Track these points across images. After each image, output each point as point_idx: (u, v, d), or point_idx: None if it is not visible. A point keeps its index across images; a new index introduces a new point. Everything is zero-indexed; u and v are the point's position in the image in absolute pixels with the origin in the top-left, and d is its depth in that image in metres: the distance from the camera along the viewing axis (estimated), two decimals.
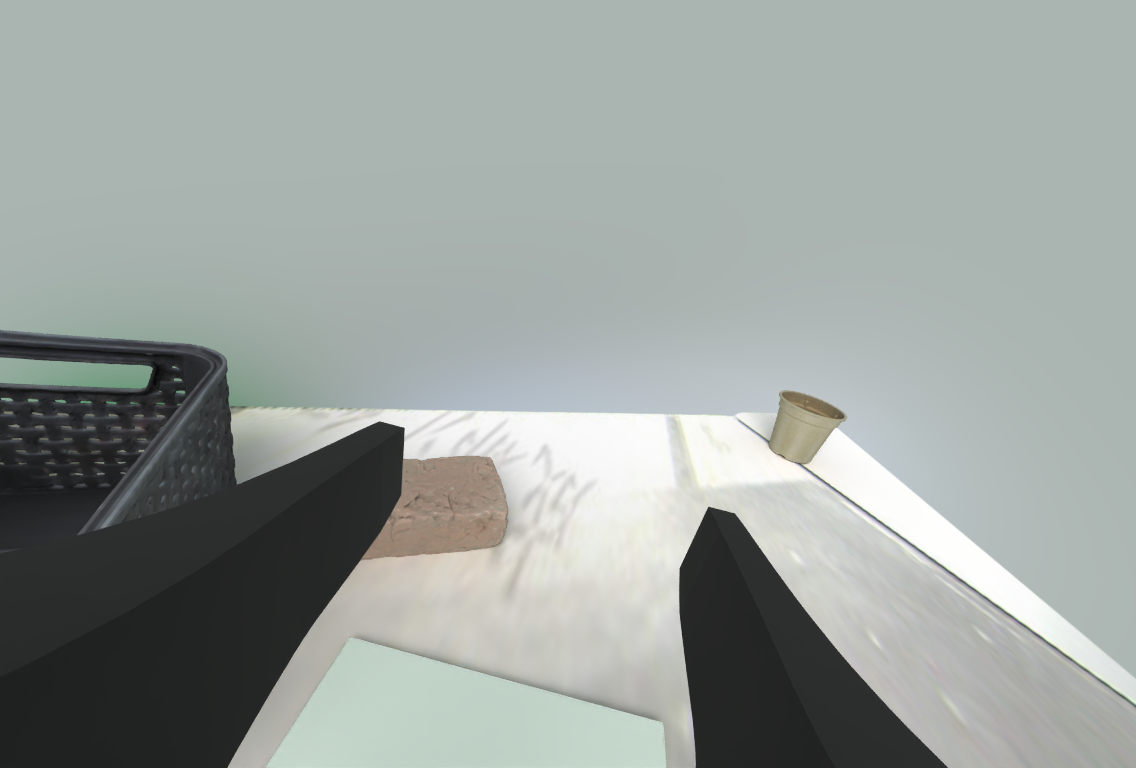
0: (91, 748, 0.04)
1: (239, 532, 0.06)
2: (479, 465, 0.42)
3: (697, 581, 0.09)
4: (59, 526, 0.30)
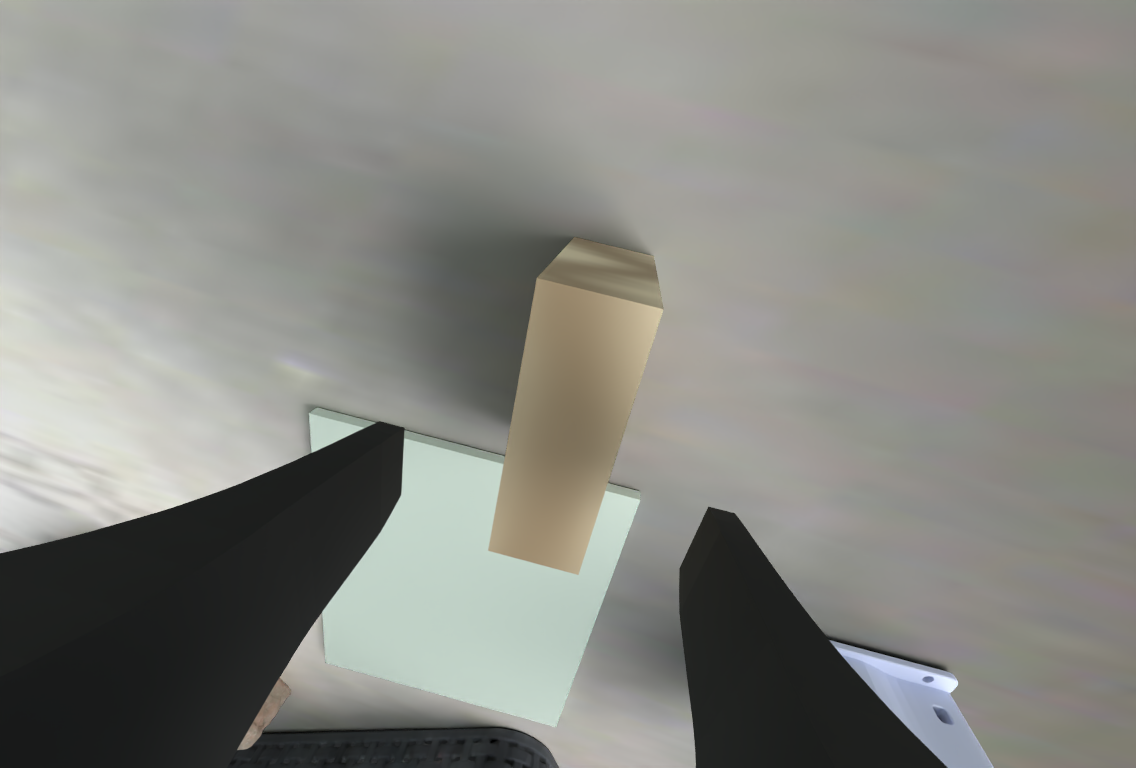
0: (91, 748, 0.04)
1: (238, 533, 0.06)
2: None
3: (697, 581, 0.09)
4: None
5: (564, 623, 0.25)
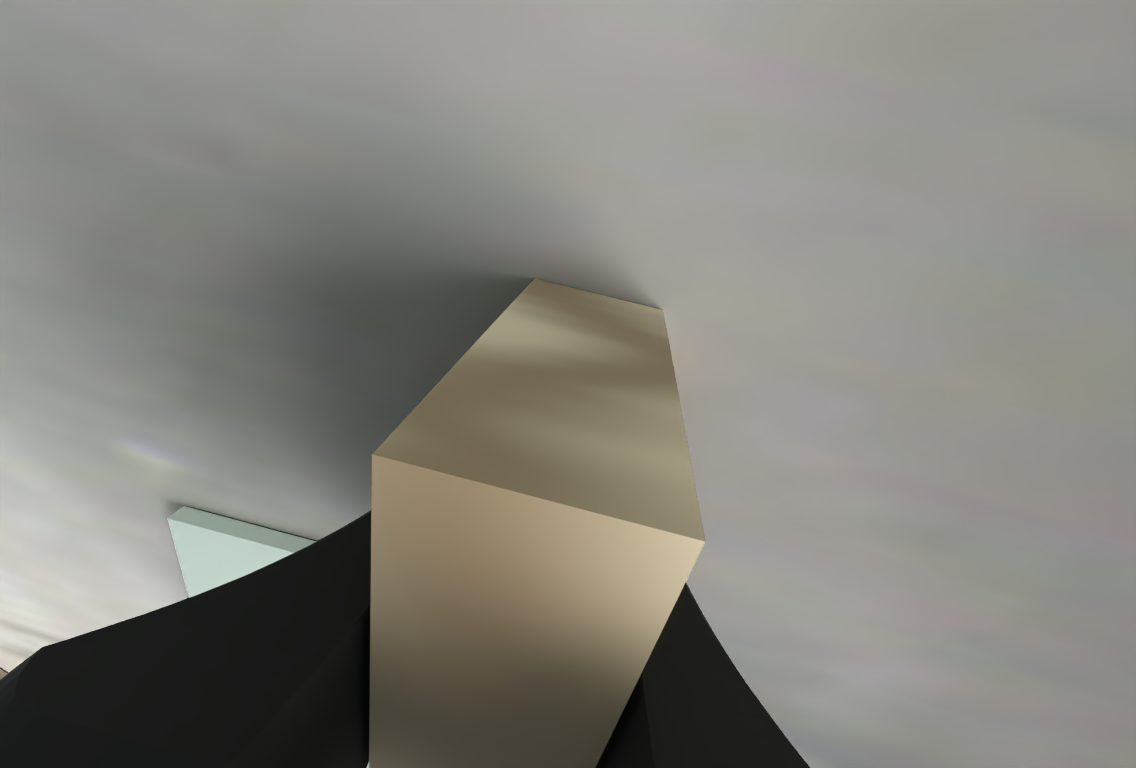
0: None
1: None
2: None
3: None
4: None
5: None
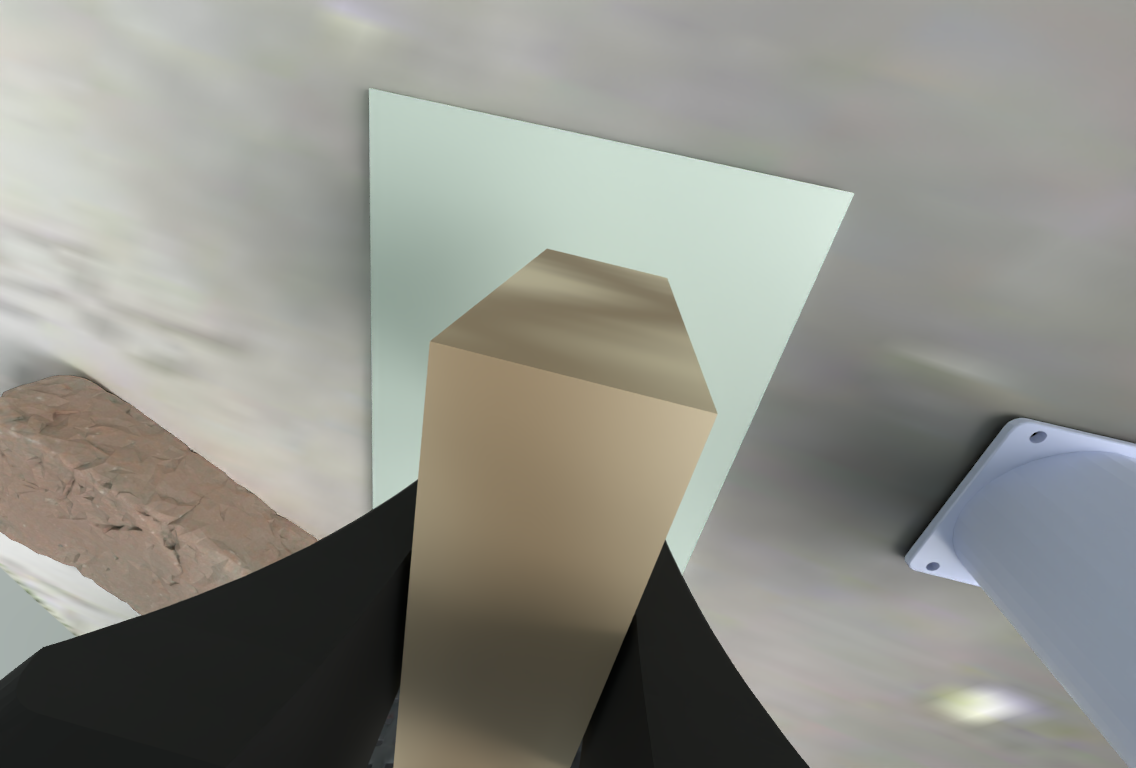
0: None
1: (379, 572, 0.06)
2: None
3: None
4: None
5: None
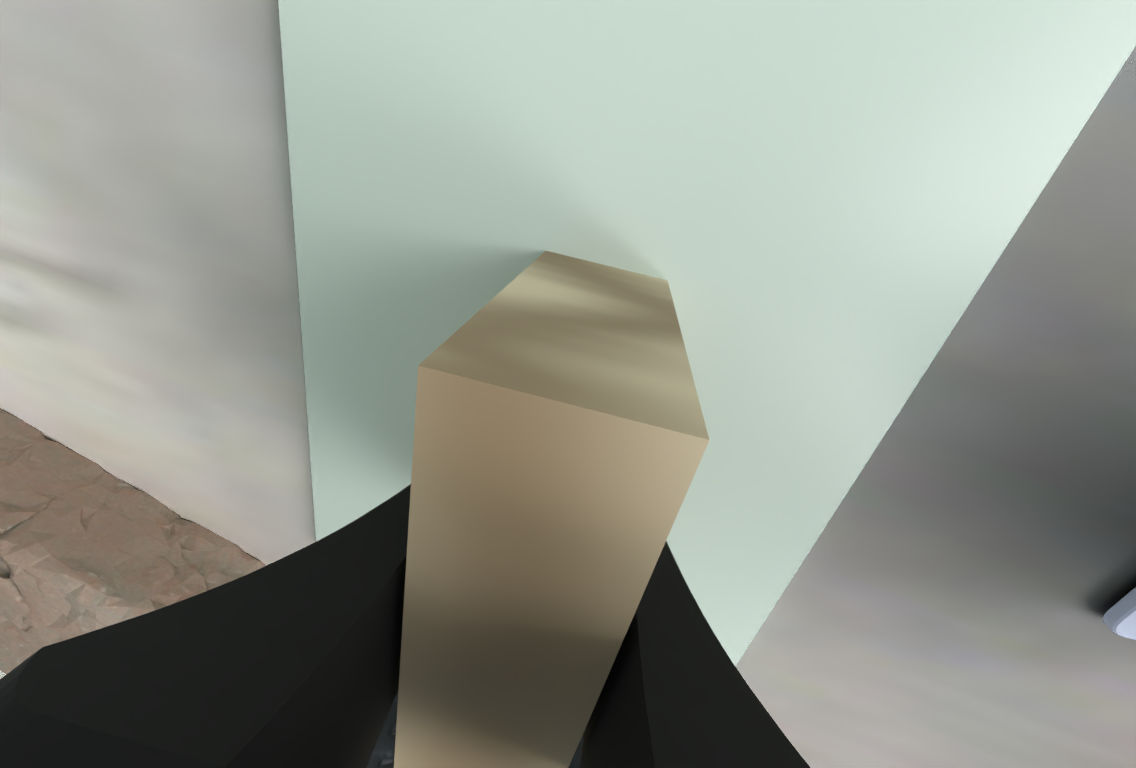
0: None
1: (379, 570, 0.06)
2: None
3: None
4: None
5: (821, 425, 0.12)
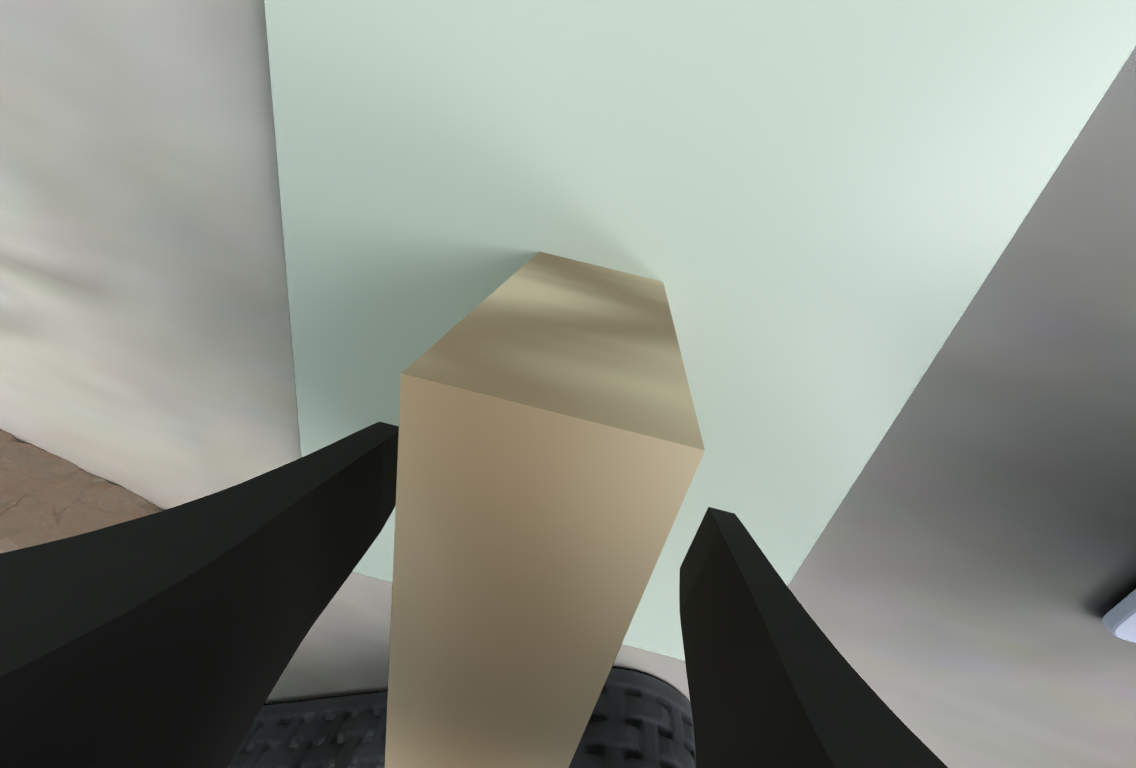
0: (91, 748, 0.04)
1: (239, 533, 0.06)
2: None
3: (697, 581, 0.09)
4: None
5: (819, 428, 0.12)
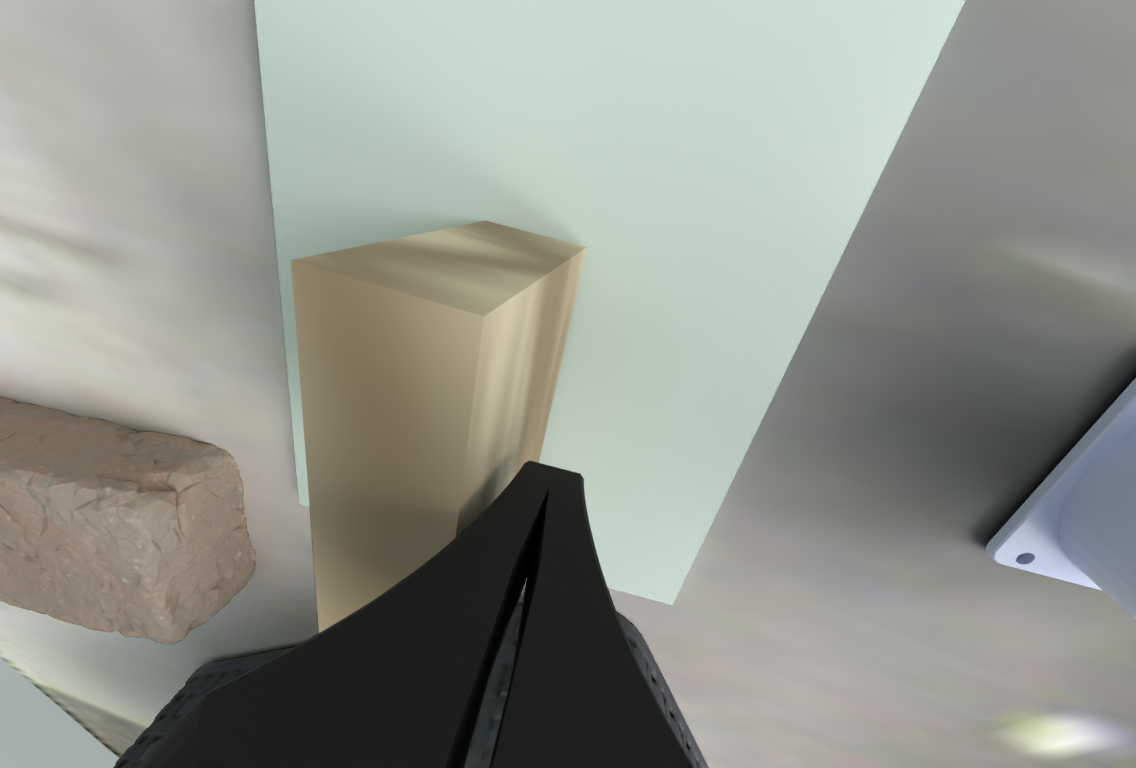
0: None
1: (486, 600, 0.06)
2: None
3: (537, 539, 0.10)
4: None
5: (727, 373, 0.14)
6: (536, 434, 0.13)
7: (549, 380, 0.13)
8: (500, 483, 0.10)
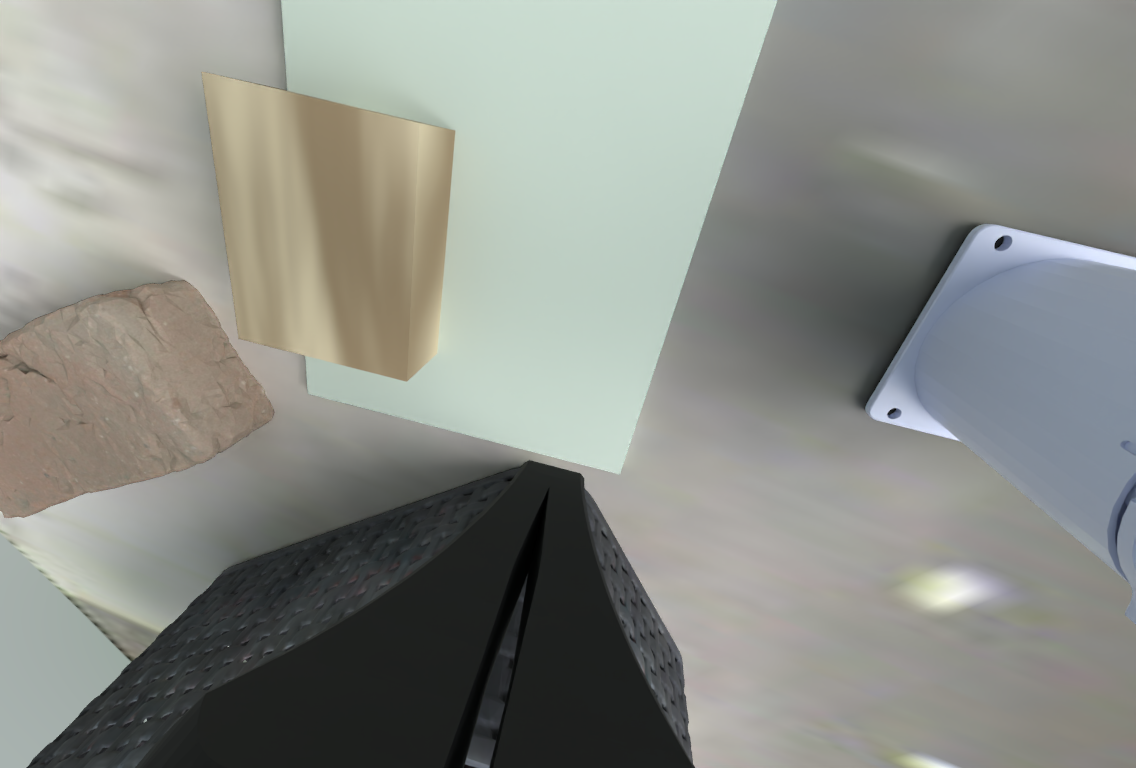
0: None
1: (486, 599, 0.06)
2: None
3: (537, 539, 0.10)
4: None
5: (649, 256, 0.17)
6: (370, 282, 0.16)
7: (376, 233, 0.15)
8: (288, 248, 0.16)
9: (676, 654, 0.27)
